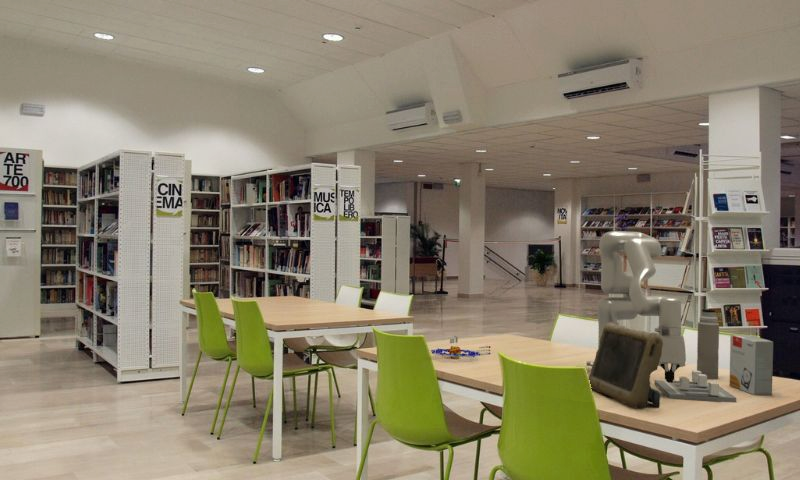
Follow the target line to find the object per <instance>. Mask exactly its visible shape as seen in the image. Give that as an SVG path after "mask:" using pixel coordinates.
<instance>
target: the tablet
mask: <svg viewBox="0 0 800 480" xmlns="http://www.w3.org/2000/svg"><path fill="white" fill-rule="evenodd" d="M662 346H663V341H662V337H661V335H659V333H658V332H655V331H654V332H649V331H648V332H647V331H644V330H636V329H634V328H628V327H626V326H625V325H620V326H618V325H616V324H615V323H614V322H610V323H607V324H606V325H605V326H604V329H603V332H602V336H601V338H600V345H599V348H598V349H596V350H597V351H596V352H595V353H596V354H595V359H594V361H593V362H594V363H593V366H591V370H590V373H589V375H588V380H590V384H591V387H592V388H591V389H592V390H594V391H596V392H598V393H602V394H604V395H606V396H608V397H611V398H613V399H615V400H617V401H618V402H621V403H623V404H625V405H628V406H629V407H631V408H637V409H640V410H642V409H644V408H645V407H646V406H648V403H652V405H653V406H654V407H655V408H660V404H661V403H660V398H661V393H660V391H658V390H655V389H653V388H652V387H651V379H650V377H651V375H652V373H653V372H654V371H657V370H658V367H659V366H658V365H659V361H660V358H661V354H662Z"/></svg>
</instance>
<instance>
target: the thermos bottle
mask: <svg viewBox="0 0 800 480" xmlns="http://www.w3.org/2000/svg"><path fill="white" fill-rule="evenodd" d="M701 312H702V314H701V316H700V317H699V322H698V321H697V345H696V346H697V349H696V350H697V351H696V352H697V358H696V359H697V360H696V371H700V372H702V374H705V375H706V376H707V380H717V378H719V357H720V356H719V346H720V323H718V317H717V316H716V310H715V309H709V308H704V309H701Z"/></svg>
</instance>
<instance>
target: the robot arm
mask: <svg viewBox="0 0 800 480" xmlns="http://www.w3.org/2000/svg"><path fill="white" fill-rule="evenodd" d="M600 237H601V238H600V239H599V245H598V246H599V247H598V248H599V253H600V254H599V255H600V260H601V265H600V267H601V272H600V276H601V277H600V288H601V290H602V292H603V293H605V294H608V295H622V297H619V296H610V297H609V296H607V297H602V298H600V299H599V300H598V302H597V303H596V314H597V323H598V338H597V339H598V340H597V341H598V343H597V344H598V346H597V347H598V348H599V345H600V338H601V336H602V332H603V329H604V326H605V325H606V324H607V323H610V322H614V323H615V324H616V325H618V326H621V325H620V323H619V320H620V321H623V320H624V321H625V320H627V321H628V320H633V319H636V318H637V316H638V315H639V316H642V317H651V316H652V317H658V327H654V332H655V333H658V334H659V335H661V337H662V341H663V346H662V354H661V358H660V361H659V365H658V367H661V368H662V369H663V370H664V381H667V382H668V383H670V382H671V383H673V381H675V372H676V371H677V370H678V369H679V368H682V367H685V366H686V360H687V355H686V344H685V343H686V342H685V338H684V336H683V335H682V301H681V299H680V298H678V297H677V298H676V297H668V296H666V295H645V294H644V292H643V290H642V282H645V281H647V280H649V279H651V278H652V277H653V276H655V274H656V271H657V270H656V267H655V265H654V264H655V263H654V261H653V260H655V259H658V258H660V256H661V255H662V246H661V244H660V241H658V239H657V238H655V237H654V236H653V237H652V236H651V235H648V234H645V233H643V232H640V231H621V230H617V231H616V230H615V231H607V232H605V233H603V234H602V236H600ZM618 252H619V253H625V255H626V259H627V261H628V264H629V266H630V267H629V268H630V269H631V270H630V271H623V259H622V257H621V255H620V254H619V253H618ZM593 363H594V361H590V360H589V361H587V360H586V366H588V367H592V366H593ZM669 364H670V368H669Z"/></svg>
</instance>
